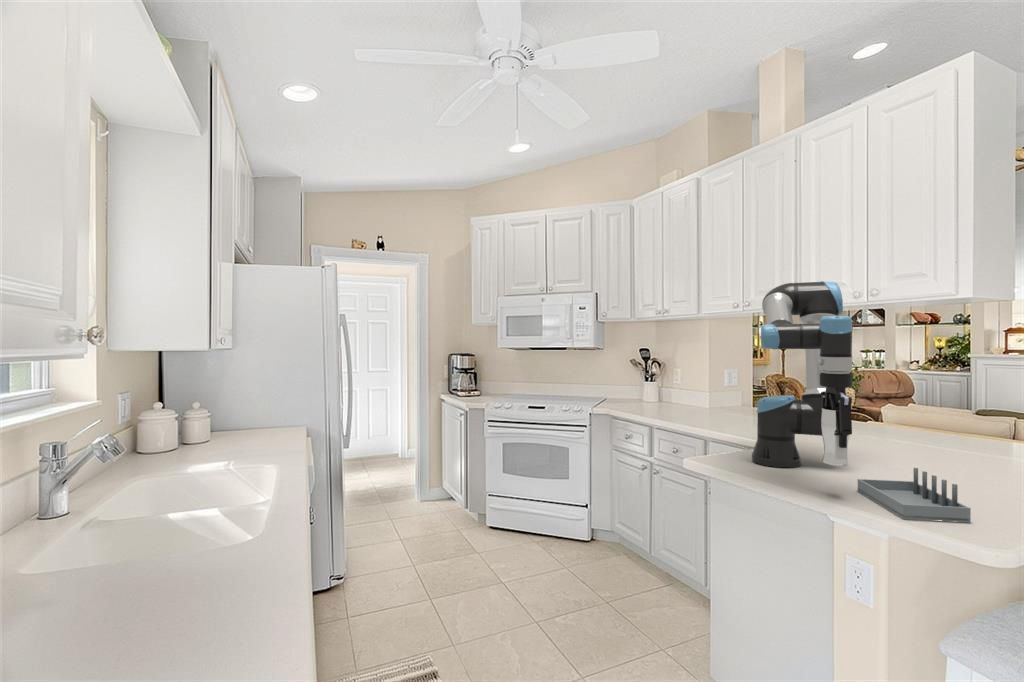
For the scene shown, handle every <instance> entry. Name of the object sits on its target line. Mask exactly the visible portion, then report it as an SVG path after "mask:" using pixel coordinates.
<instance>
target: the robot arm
mask: <svg viewBox="0 0 1024 682" xmlns="http://www.w3.org/2000/svg"><path fill="white" fill-rule="evenodd" d="M843 299H844V298H843V294H842V291H841V288H840V286H839V284H838V283H837V282H835V281H822V280H821V281H812V282H811V281H810V282H809V281H807V282H789V283H787V282H786V283H783V284H781V285H778V286H776V287H774V288H772V289H771V290H769V291H768V292H767V293H766V294H765V296H764V297H763V299H762V302H761V303H762V305H761V306H762V307H761V308H762V310H763V314H765V318H766V324H762V325H761V326H760V346H761V348H762V349H765V350H766V349H768V350H769V349H770V350H804V351H805V353H804V354H805V379H806V380H805V382H806V383H805V384H806V386H805V387H806V389H805V391H804V392H803V393H802V394H801V399H800V400H799V399H796V397H795V396H794V395H790V394H788V395H785V394H784V395H772V396H771V395H770V396H764V397H761V398H760V399H758V400H757V401H758V402H757V410H756V413H757V423H756V425H757V429H756V430H757V434H756V435H757V438H756V442H755V445H754V448H753V451H752V454H751V461H752V462H753V463H754V462H755V463H754V464H757V463H758V464H757V465H760V464H761V465H762V466H764V465H766V466H765V467H770V466H774V467H773V468H780V467H787V468H786V469H789V467H790V468H793V467H794V468H798V467H801V466H802V465H801V464H802V461H801V460H802V458H801V456H800V453H799V450H798V447H797V445H796V437H795V436H796V435H804V436H805V435H806V436H808V435H809V436H818V437H819V436H821V437H822V431H821V413H822V408H823V407H826V408H827V410H836V430H837V433H834V435H835V459H839V460H847V457H848V446H847V436H848V435H850V436H851V435H852V434H853V427H852V426H853V425H852V424H853V423H852V418H853V417H852V403H853V402H852V401H853V398H852V396H847V392H846V389H847V388H851V387H852V386H853V374H852V373H850V372H852V371H853V354H852V353H853V347H852V346H853V330H854V327H853V320H852V317H851V316H848V315H841V314H842V313H843V312H844V305H843V303H844V301H843ZM793 316H799V321H800V322H801V323H794V320H793ZM838 411H839V412H838ZM761 465H760V466H761Z"/></svg>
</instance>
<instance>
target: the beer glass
mask: <svg viewBox="0 0 1024 682" xmlns="http://www.w3.org/2000/svg"><path fill="white" fill-rule="evenodd" d="M838 412H839V411H838ZM821 431H822V436H821V437H822V441H823V449H824V450H823V456H822V457H823V458H822V462H823V463H824V464H826V465H829V466H834V467H835V466H838V467H846V466H849V463H850V462H849V458H848V456H847V460H839V459H835V435H834V433H837V430H836V410H827V408H826V407H823V408H822V413H821ZM850 436H851V435H848V436H847V447H848V445H849V440H850Z"/></svg>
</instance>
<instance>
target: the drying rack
mask: <svg viewBox="0 0 1024 682" xmlns="http://www.w3.org/2000/svg"><path fill="white" fill-rule="evenodd" d="M921 475H922V477H921V478H922V479H921V480H922V481H921V482H922V484H920V483H919V468H918V467H913V481H911V480H890V479H886V480H885V479H884V480H883V479H868V478H867V479H865V478H858V479H857V492H858V493H859V494H861V495H863V496H864V497H866V498H868V499H869V500H871V501H873V502H874V503H876V504H877V505H879V506H880V507H882V508H884V509H885V510H888V511H889V512H890V513H892V514H894V515H895V516H897V517H898V518H900V519H902V520H904V521H905V520H908V521H922V520H942V521H959V522H970V523H971V507H969V506H967V505H965V504H962V503H960V502H958V500H959V499H958V495H959V494H958V493H959V491H958V488H959V487H958V484H956V483H951V498H950V497H948V492H947V491H948V487H947V484H948V480H947V479H941V493H939V492H937V490H938V489H937V487H938V485H937V479H938V478H937V477H938V476H937V475H933V474H932V475H931V488H928V471H923V470H922V473H921ZM959 522H958V523H959Z"/></svg>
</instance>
